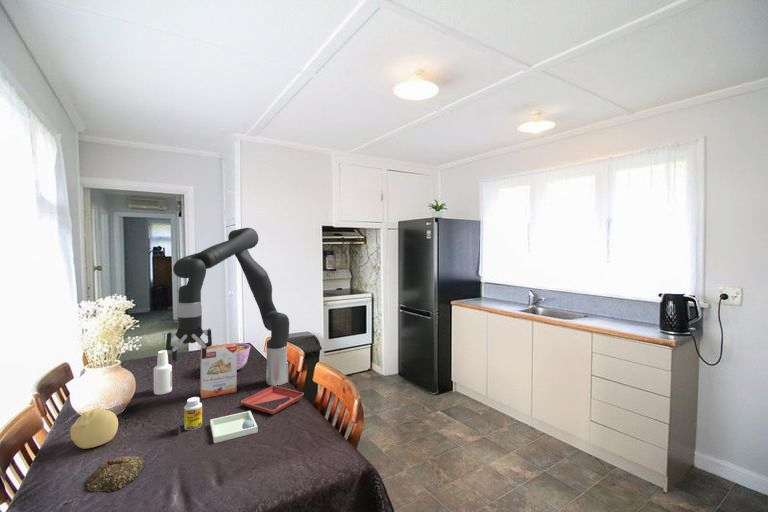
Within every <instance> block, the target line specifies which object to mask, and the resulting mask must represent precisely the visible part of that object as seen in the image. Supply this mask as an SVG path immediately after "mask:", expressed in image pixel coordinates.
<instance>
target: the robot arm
mask: <svg viewBox="0 0 768 512" xmlns="http://www.w3.org/2000/svg"><path fill="white" fill-rule="evenodd" d="M258 242H259V235H258V233H257V231H256V230H255V229H254V228H251V227H244V228H239V229H234V230H232V231H230V232H229V234H228V240H226V241H223V242H220V243H216V244H214V245H212V246H209V247H207V248H205V249H203V250H202V251H200V252H197V253H192V254H190V255H187V256H183V257H181V258H179V259H178V260H177V261H176V262H175V263H174V264H173V268H172V271H173V273H174V275H175V276H176V277H178V278H181V279H188V280H187V282H186V285H185V284H184V285H181V286H179V289H178V293H177V294H178V299H177V300H178V301H177V302H178V305H177V313H176V314H177V330H176V331H175V332H174V331H173V332H171V331H168V332H167V334H166V343H165V350H167V351H170V352H171V353H172V356H171V359H172V361H174V363H176V362H178V349H179V347H181V345H182V344H185V345H187V344H188V345H189V344H195V343H196V342H197V344H198V345H200V347H202V359H204V357H206V348H207V347H209V346H213V340H212V339H213V338H212V329H211V328H208V329H203V328H202V321H203V320H202V318H203V317H202V314H203V313H202V312H203V309H202V288H203V285H204V281H205V278H206V274H207V270H208V269H212V268H213V267H215V266H217V265H218V264H220V263H222V262H224V261H225V260H227V259H229V258H231V257H232V256H235V257H236V259H237V261H238V263H239V266H240V267H241V270H242V271H243V274H244V276H245V278H246V282H247V284H248V287H249V289H250V291H251V293H252V295H253V298H254V300H255V302H256V304H257V307H258V309H259V313H260V316H261V317H260V318H261V320H262V324H263V326H264V328H265V329H266V330H268V331H270V338H269V339H268V340H267V341H266V384H267V385H268V386H270V387H271V386H277V385H278V386H283V385H284V384H286V383H289V362H288V341H289V336H290V318H289V316H288V314H285V313H284V312H283V313H282V312H278V310H277V309H276V307H275V304H274V301H273V286H272V282H271V279H270V277H269V274H268V272H267V271H266V269H264V268H263V266H261V265H260V264H259V263H258V262H257V261H256V260H255V259H254V258H253V257H252V255H251V253H250V251H249V250H250V249H253V248H255V247H256V246H257V244H258ZM203 334H204V336H205V337H207V342H205V341H204V340H203V339H202V335H203ZM174 337H176V338H177V339H178V340H177V342H176V343H175V344H174V345H172V340H173V339H174ZM278 386H277V387H278Z"/></svg>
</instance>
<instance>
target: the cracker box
mask: <svg viewBox="0 0 768 512" xmlns="http://www.w3.org/2000/svg"><path fill="white" fill-rule="evenodd" d="M230 343H231V344H229V343H223V345H222V344H216V345H211V346H209V347H207V348H206V357H204V359H202V346H200V399H207V398H211V397H216V396H217V397H218V396H223V395H228V394H234V393H237V385H238V384H237V380H238V379H237V374H238V373H237V372H238V371H237V346H236V345H235V343H236V342H230Z"/></svg>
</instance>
